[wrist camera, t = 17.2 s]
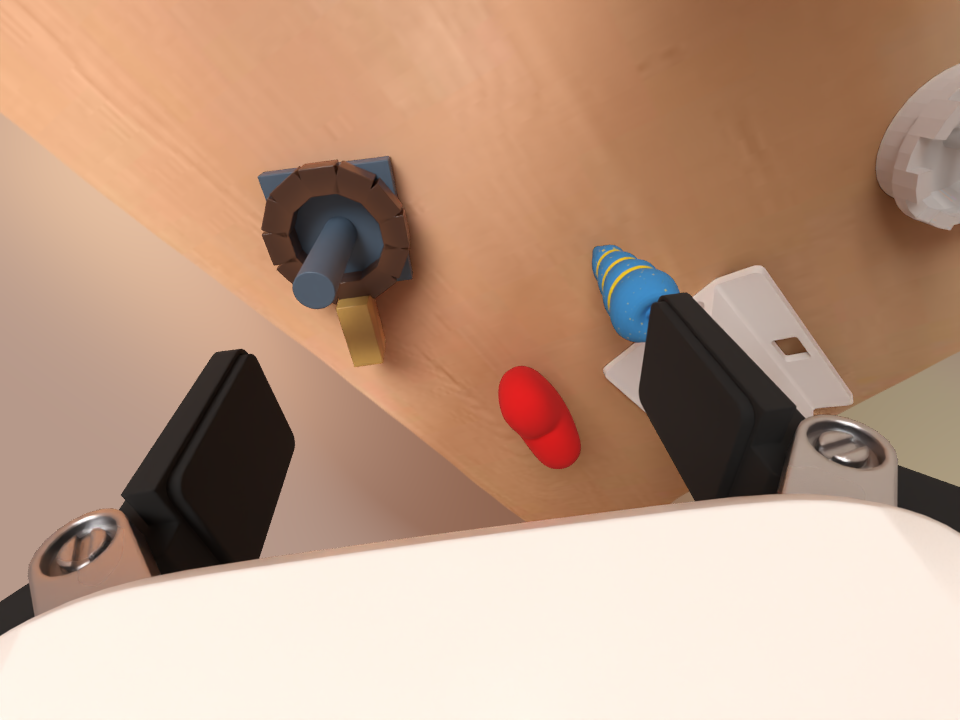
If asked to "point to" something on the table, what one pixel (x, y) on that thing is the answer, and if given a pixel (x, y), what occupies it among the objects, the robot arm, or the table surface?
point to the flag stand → (925, 153)
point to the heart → (539, 417)
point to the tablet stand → (755, 342)
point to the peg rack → (335, 236)
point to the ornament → (629, 289)
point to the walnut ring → (355, 286)
